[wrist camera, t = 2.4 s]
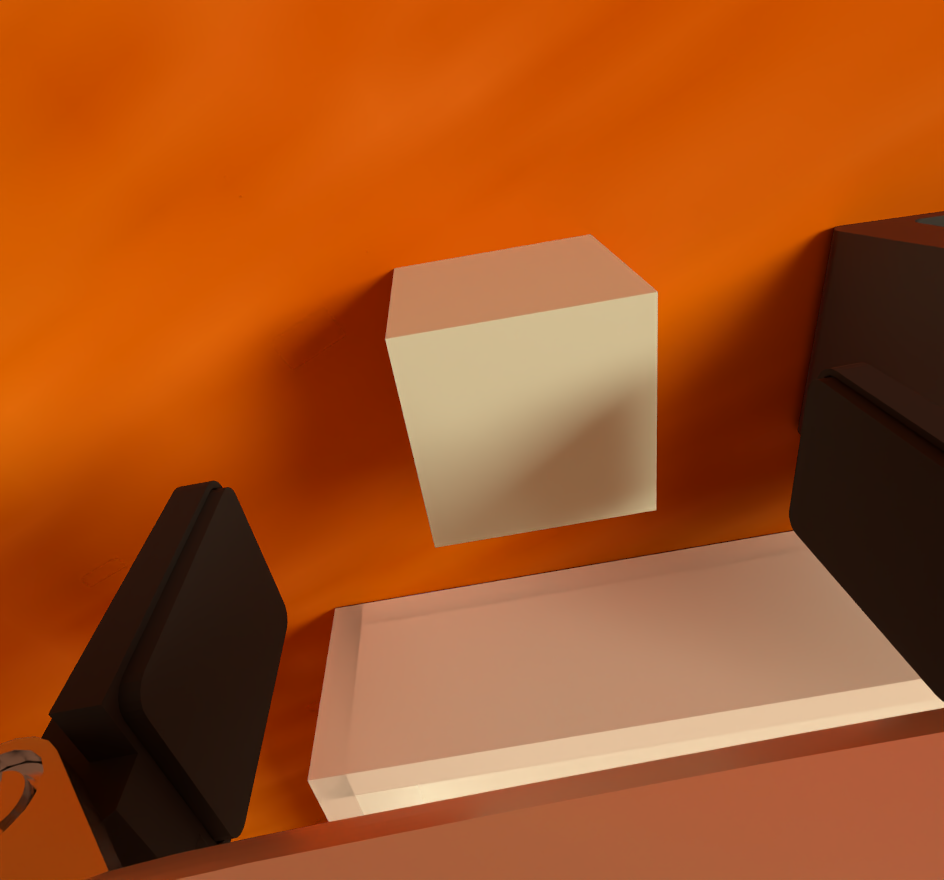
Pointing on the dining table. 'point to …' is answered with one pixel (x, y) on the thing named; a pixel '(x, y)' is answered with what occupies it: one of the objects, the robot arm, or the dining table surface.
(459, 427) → the beige cube
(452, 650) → the tote
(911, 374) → the phone stand
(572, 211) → the dining table surface
